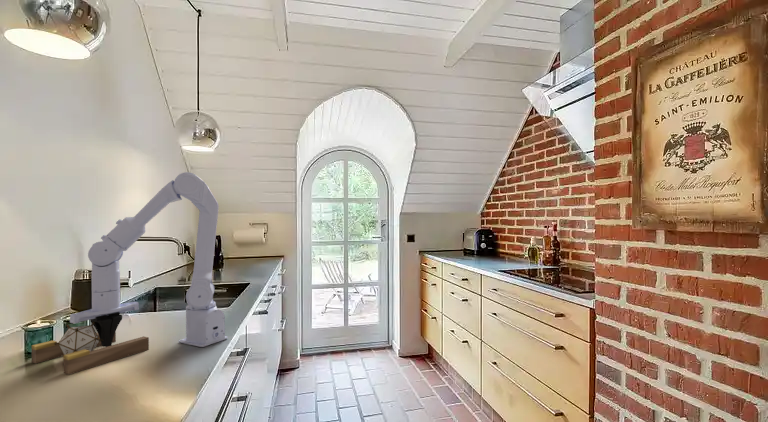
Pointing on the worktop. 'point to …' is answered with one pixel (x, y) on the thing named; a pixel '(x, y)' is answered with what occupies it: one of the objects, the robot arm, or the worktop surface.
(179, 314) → the worktop surface
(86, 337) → the game die
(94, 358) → the twin wooden rails
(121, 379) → the worktop surface
